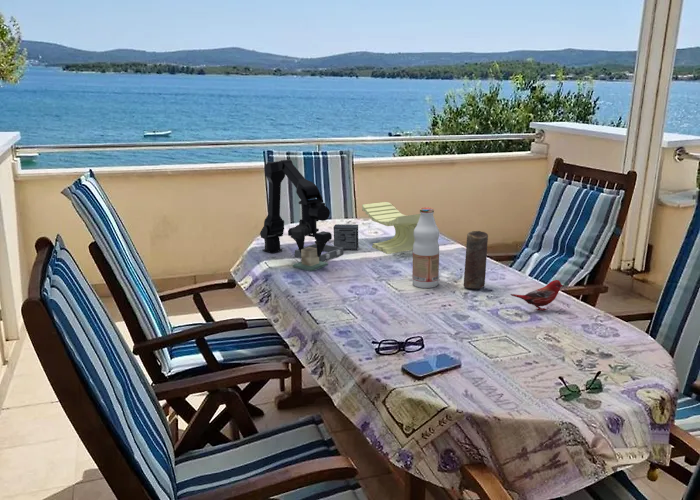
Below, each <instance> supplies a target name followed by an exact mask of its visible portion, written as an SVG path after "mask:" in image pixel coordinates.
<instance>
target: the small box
mask: <svg viewBox="0 0 700 500" xmlns="http://www.w3.org/2000/svg"><path fill="white" fill-rule="evenodd" d="M333 246H336V247H341V248H343V251H358V250H359V224H347V223H346V224H345V223H344V224H334V226H333Z"/></svg>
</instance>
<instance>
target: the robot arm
mask: <svg viewBox="0 0 700 500" xmlns="http://www.w3.org/2000/svg"><path fill="white" fill-rule="evenodd" d="M264 165H265V166H264V173H265V175H264V176H265V177H266V179H267V181H268V208H267V209H268V211H267V212H268V213H267V216H266V217H265V219H264V221H263V227H262V229H261V230H260V232H259V234H260V238H261V239H264V241H263V242H264V248H263V249H262V250H261V251H262V252H265V253H270V254H275V253H276V252H277V253H278V252H280V251H283V248H281V241H280V237H283V236H284V231H285V220H284V219H283V218H282V217H281V193H282V190H281V189H282V182H283V180H284V179H285V178H286V177H287V178H288V180H289V181H290V182H291V183H292V184H293V186H294V187H295V189H296V190H295V193H296V195H297V196H298V198H299V202H298V204H299V205H300V206H301V219H299V222H298V224H297V225H295V226H294V227H291V228H288V230H287V236H288V237H290V238H291V239H293V241H295V243H296V245H297V249H299V251H300V253H301V249H304V247H305V242H306V241H305V240H306V239H305V238H306V237H311V238H314V244H315V243H316V244H317V256H318V257H320V256H321V255H322V253H323V252H324V251H323V249H324V247H325V245H327V243H328V242H330V240H332V239H333V235H332V232H330V231H324V230H323V231H320V229H319V228H318V227H317V225H318V224H317V222H319V221H320V222H324V221H325V222H326V221H327V220H328V219H329V217H330V213H331V211H330V209H329V207H328V206H327V205H326V202H324V199H323V196H322V194H321V192H320V190H319V188H318V186H317V184H315V183H314V182H313V181H311V180H309V179H306V178H305V177H304V176H303V174H302V173H301V172H300V171H299V170H298V168H297V167H296V166H295V165H294V163H293V161H292V160H291V159H281V160H277V161H268V162H267V163H266V164H264ZM319 231H320V232H319Z"/></svg>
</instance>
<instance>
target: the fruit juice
mask: <svg viewBox="0 0 700 500" xmlns="http://www.w3.org/2000/svg"><path fill="white" fill-rule="evenodd" d="M419 214H421V215H420V218H419V221H418V223H417V226H416V227H415V229H414V239H415V242H414V244H413V250H412V278H411V280H412V281H411V282H412V285H413V286H415V287H416V288H420V289H421V288H422V289H431V288H435V287H437V286H438V285H439V280H440V279H439V276H440V275H439V274H440V272H439V270H440V244H439V237H440V229H439V227H438V226H437V223H436V219H435V216H434V214H435V209H434V208H433V207H429V206H428V207H426V206H425V207H420V208H419Z"/></svg>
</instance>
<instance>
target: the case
mask: <svg viewBox="0 0 700 500" xmlns="http://www.w3.org/2000/svg"><path fill="white" fill-rule="evenodd" d="M308 247H312V248H317V244H316V243H315V242H314V243H313V244H308V245H306V246H304V249H305V248H308ZM322 252H324V253H323V254H322V253H321V256H320V257H319V261H322V262H327V261H330V260H332V259H335V258H338V257H340V256H343V255H344V250H343V248H341V247H336V246H334V245H330V244H326V245H325V247H324V249H323V251H322ZM294 258H299V259H301V253H300V251H299V248H296V249H294Z"/></svg>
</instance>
